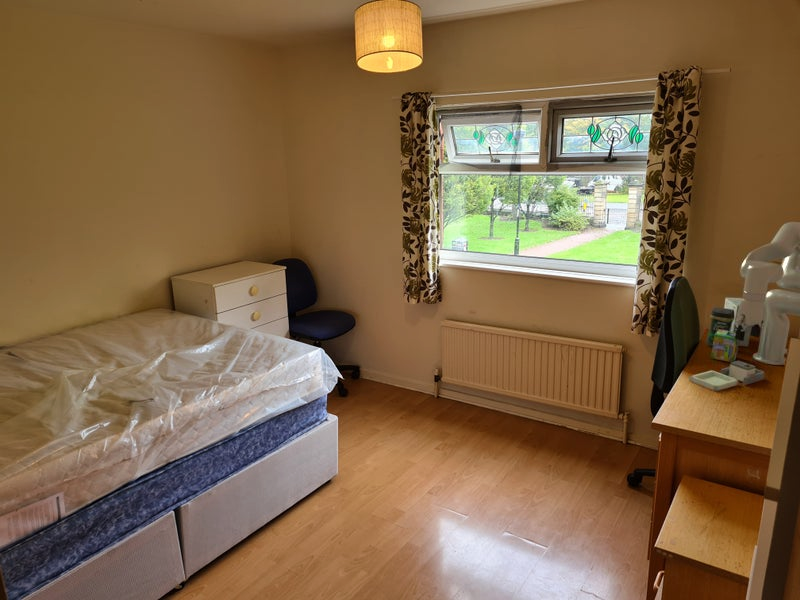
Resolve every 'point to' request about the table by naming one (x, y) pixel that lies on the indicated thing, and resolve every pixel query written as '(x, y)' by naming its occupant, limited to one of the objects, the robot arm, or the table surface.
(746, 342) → the hard drive box
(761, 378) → the bay
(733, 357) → the chalk box
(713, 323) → the coffee jar
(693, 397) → the table surface
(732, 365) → the grey box with knob
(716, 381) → the dock tray
